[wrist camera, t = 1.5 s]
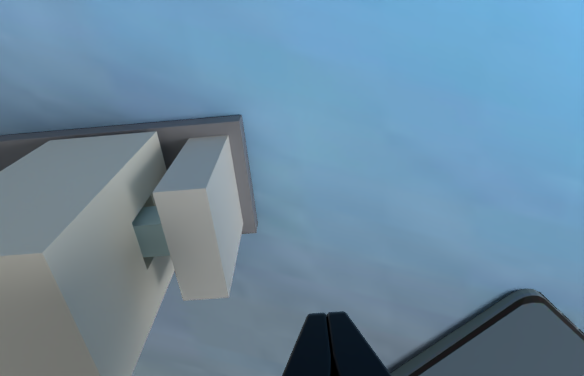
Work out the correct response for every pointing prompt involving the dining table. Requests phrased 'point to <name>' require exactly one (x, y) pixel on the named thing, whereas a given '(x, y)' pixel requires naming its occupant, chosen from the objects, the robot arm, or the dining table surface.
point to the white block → (78, 257)
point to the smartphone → (506, 343)
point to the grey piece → (184, 196)
